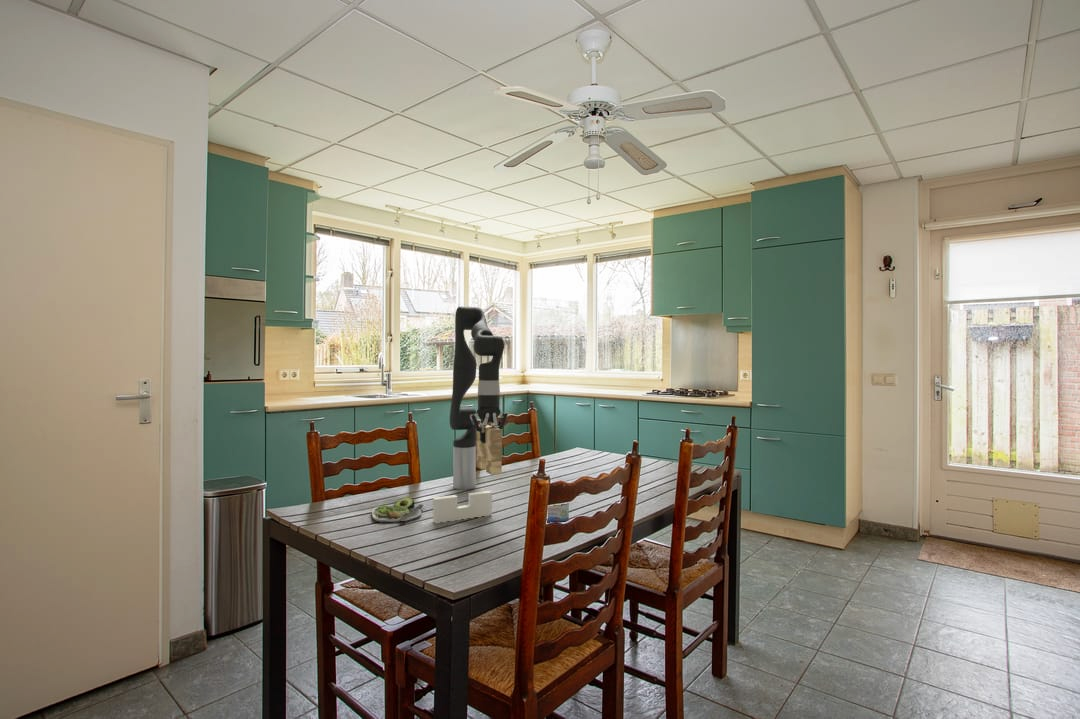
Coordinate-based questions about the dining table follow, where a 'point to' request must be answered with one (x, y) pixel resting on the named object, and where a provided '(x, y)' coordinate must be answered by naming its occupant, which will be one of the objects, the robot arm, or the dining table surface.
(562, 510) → the medicine box
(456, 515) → the slotted board
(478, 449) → the tan thick flat block
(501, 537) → the dining table surface
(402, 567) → the dining table surface
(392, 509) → the salad plate
